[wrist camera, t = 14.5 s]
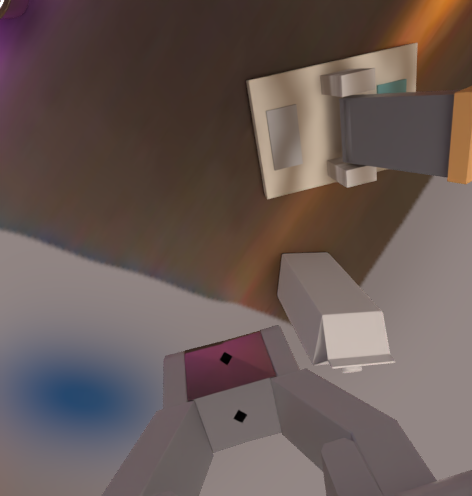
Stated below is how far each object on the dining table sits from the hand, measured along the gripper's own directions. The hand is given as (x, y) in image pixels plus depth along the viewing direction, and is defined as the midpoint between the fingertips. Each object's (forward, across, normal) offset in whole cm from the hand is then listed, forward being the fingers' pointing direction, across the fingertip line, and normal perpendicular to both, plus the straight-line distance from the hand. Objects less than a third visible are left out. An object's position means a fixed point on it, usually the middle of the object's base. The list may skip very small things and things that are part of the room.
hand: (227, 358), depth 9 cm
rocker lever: (+32, -19, +3) cm, 37 cm away
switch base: (+37, -19, +3) cm, 42 cm away
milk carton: (+37, -13, +23) cm, 46 cm away
